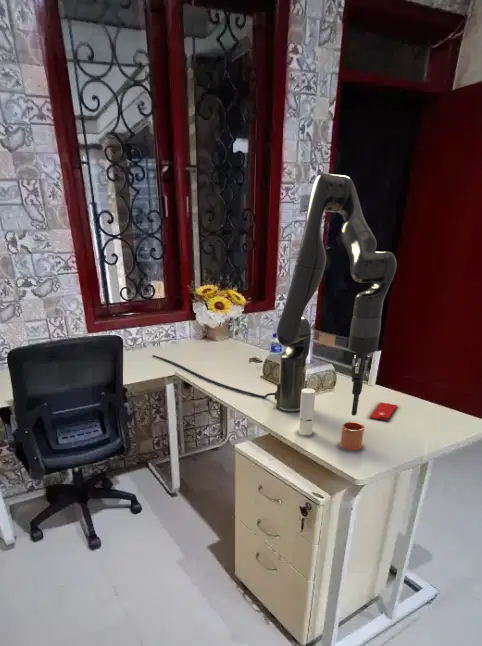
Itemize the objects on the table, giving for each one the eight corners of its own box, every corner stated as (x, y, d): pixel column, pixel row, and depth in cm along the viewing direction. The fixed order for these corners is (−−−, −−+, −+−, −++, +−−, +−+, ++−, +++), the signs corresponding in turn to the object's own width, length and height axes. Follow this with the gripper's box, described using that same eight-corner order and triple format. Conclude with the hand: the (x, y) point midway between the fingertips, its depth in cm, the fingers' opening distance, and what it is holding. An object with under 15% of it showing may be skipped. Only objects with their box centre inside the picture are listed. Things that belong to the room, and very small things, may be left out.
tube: (301, 429, 139) (304, 387, 133) (314, 432, 137) (317, 389, 130) (296, 434, 136) (299, 391, 129) (309, 437, 134) (312, 393, 127)
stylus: (350, 416, 122) (355, 377, 117) (351, 414, 123) (356, 375, 118) (355, 416, 121) (361, 377, 116) (356, 414, 123) (362, 376, 117)
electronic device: (380, 403, 155) (369, 417, 145) (380, 402, 155) (369, 416, 144) (396, 406, 152) (387, 421, 141) (396, 404, 152) (387, 419, 141)
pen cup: (338, 449, 126) (340, 428, 123) (342, 440, 131) (344, 420, 128) (359, 453, 123) (362, 432, 120) (362, 444, 128) (365, 423, 125)
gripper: (354, 326, 118) (347, 384, 126) (345, 337, 108) (338, 399, 115) (382, 328, 115) (373, 387, 123) (376, 339, 104) (366, 403, 112)
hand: (356, 393), depth 119 cm, fingers closed on stylus, 1 cm apart
